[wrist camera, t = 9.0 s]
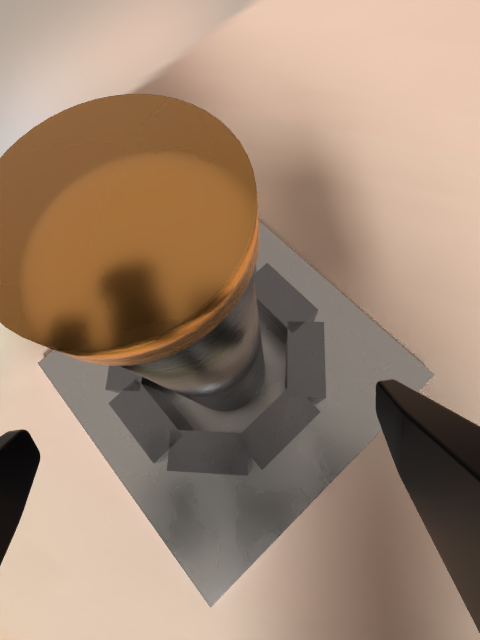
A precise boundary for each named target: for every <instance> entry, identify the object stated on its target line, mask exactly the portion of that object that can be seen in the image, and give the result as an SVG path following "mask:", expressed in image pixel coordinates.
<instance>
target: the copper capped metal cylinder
mask: <svg viewBox="0 0 480 640" xmlns="http://www.w3.org/2000/svg"><path fill="white" fill-rule="evenodd" d="M259 240H260V239H259V219H258V205H257V191H256V183H255V178H254V173H253V169H252V166H251V164H250V161H249V158H248V156H247V154H246V152H245V150H244V149H243V147H242V145H241V143H240V142H239V140H238V139H237V138H236V137H235V135H234V134H233V133H232V132H231V131H230V129H228V128H227V127H226V126H225V125H224V124H223V123H222V122H221V121H220V120H218V119H217V118H215V117H214V116H213V115H211V114H210V113H208V112H207V111H205V110H203V109H201V108H199V107H197V106H195V105H193V104H190V103H187V102H184V101H181V100H178V99H174V98H170V97H165V96H159V95H150V94H126V95H116V96H109V97H104V98H100V99H95V100H92V101H88V102H85V103H82V104H79V105H76V106H74V107H71V108H69V109H67V110H64V111H62V112H60V113H58V114H56V115H54V116H52V117H50V118H48V119H47V120H45V121H44V122H42V123H40V124H39V125H37V126H36V127H34V128H33V129H31V130H30V131H29V132H27V134H25V135H24V136H22V137H21V138H20V139H19V140H18V141H17V142H16V143H14V144H13V145H12V146H11V147H10V148H9V149H8V150H7V151H6V152H5V153H4V154H3V156H2V157H1V158H0V323H2V324H3V325H4V326H5V327H6V328H8V329H10V330H11V331H13V332H15V333H16V334H18V335H20V336H21V337H23V338H26V339H28V340H31V341H33V342H36V343H38V344H41V345H43V346H46V347H48V348H51V349H53V350H55V351H58V352H60V353H63V354H65V355H68V356H70V357H73V358H75V359H78V360H81V361H85V362H89V363H93V364H99V365H109V366H121V367H123V368H125V369H127V370H129V371H131V372H133V373H135V374H138V375H140V376H142V377H144V378H146V379H148V380H150V381H152V382H154V383H157V384H159V385H161V386H163V387H165V388H167V389H169V390H171V391H173V392H175V393H178V394H180V395H182V396H184V397H186V398H188V399H190V400H192V401H194V402H197V403H199V404H201V405H203V406H205V407H207V408H210V409H213V410H217V411H230V410H235V409H238V408H240V407H242V406H244V405H246V404H247V403H249V402H250V401H251V400H252V399H253V398H254V397H255V396H256V395H257V393H258V392H259V390H260V388H261V386H262V384H263V381H264V376H265V363H264V355H263V347H262V339H261V331H260V323H259V315H258V307H257V300H256V292H255V284H254V276H253V272H254V269H255V265H256V261H257V257H258V250H259Z"/></svg>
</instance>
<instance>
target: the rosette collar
mask: <svg viewBox="0 0 480 640" xmlns="http://www.w3.org/2000/svg"><path fill="white" fill-rule="evenodd" d="M259 239H260V240H259V250H258V257H257V261H256V265H255V269H254V272H253V276H254V284H255V292H256V300H257V307H258V315H259V323H260V331H261V339H262V347H263V355H264V363H265V376H264V381H263V384H262V386H261V388H260V390H259V392H258V393H257V395H256V396H255V397H254V398H253V399H252V400H251V401H250V402H249V403H247V404H246V405H244V406H242V407H240V408H238V409H235V410H230V411H217V410H213V409H210V408H207V407H205V406H203V405H201V404H199V403H197V402H194V401H192V400H190V399H188V398H186V397H184V396H182V395H180V394H178V393H175V392H173V391H171V390H169V389H167V388H165V387H163V386H161V385H159V384H157V383H154V382H152V381H150V380H148V379H146V378H144V377H142V376H140V375H138V374H135V373H133V372H131V371H129V370H127V369H125V368H123V367H121V366H109V365H99V364H93V363H89V362H85V361H81V360H78V359H75V358H73V357H70V356H68V355H65V354H63V353H60V352H58V351H55V350H53V351H52V352H50V353H49V354H48V355H47V356H46V357H44V358H43V359H42V360H41V361H40V362H38V364H39V366H40V367H41V368H42V370H43V371H44V373H45V374H46V376H47V377H48V378H49V380H50V381H51V383H52V384H53V385H54V387H55V388H56V390H57V391H58V393H59V394H60V395H61V397H62V398H63V400H64V401H65V402H66V404H67V405H68V407H69V408H70V410H71V411H72V412H73V414H74V415H75V417H76V418H77V419H78V421H79V422H80V424H81V425H82V427H83V428H84V429H85V431H86V432H87V434H88V435H89V436H90V438H91V439H92V441H93V442H94V443H95V445H96V446H97V448H98V449H99V451H100V452H101V453H102V455H103V456H104V458H105V459H106V460H107V462H108V463H109V465H110V466H111V468H112V469H113V470H114V472H115V473H116V475H117V476H118V477H119V479H120V480H121V482H122V483H123V485H124V486H125V487H126V489H127V490H128V492H129V493H130V494H131V496H132V497H133V499H134V500H135V502H136V503H137V504H138V506H139V507H140V509H141V510H142V511H143V513H144V514H145V516H146V517H147V518H148V520H149V521H150V523H151V524H152V526H153V527H154V528H155V530H156V531H157V533H158V534H159V535H160V537H161V538H162V540H163V541H164V543H165V544H166V545H167V547H168V548H169V550H170V551H171V552H172V554H173V555H174V557H175V558H176V560H177V561H178V562H179V564H180V565H181V567H182V568H183V569H184V571H185V572H186V574H187V575H188V577H189V578H190V579H191V581H192V582H193V584H194V585H195V586H196V588H197V589H198V591H199V592H200V594H201V595H202V596H203V598H204V599H205V601H206V602H207V603H208V605H209V606H210V608H211V607H212V605H213V604H214V603H215V602H216V601H217V600H218V599H219V598H220V597H221V596H222V595H223V594H224V593H225V592H226V591H227V590H228V589H229V588H230V587H231V586H232V585H233V584H234V583H235V582H236V581H237V579H238V578H239V577H240V576H241V575H242V574H243V573H244V572H245V571H246V570H247V569H248V568H249V567H250V566H251V565H252V564H253V563H254V562H255V561H256V560H257V559H258V558H259V557H260V556H261V554H262V553H263V552H264V551H265V550H266V549H267V548H268V547H269V546H270V545H271V544H272V543H273V542H274V541H275V540H276V539H277V538H278V537H279V536H280V535H281V534H282V533H283V532H284V531H285V530H286V528H287V527H288V526H289V525H290V524H291V523H292V522H293V521H294V520H295V519H296V518H297V517H298V516H299V515H300V514H301V513H302V512H303V511H304V510H305V509H306V508H307V507H308V506H309V505H310V503H311V502H312V501H313V500H314V499H315V498H316V497H317V496H318V495H319V494H320V493H321V492H322V491H323V490H324V489H325V488H326V487H327V486H328V485H329V484H330V483H331V482H332V481H333V480H334V479H335V477H336V476H337V475H338V474H339V473H340V472H341V471H342V470H343V469H344V468H345V467H346V466H347V465H348V464H349V463H350V462H351V461H352V460H353V459H354V458H355V457H356V456H357V455H358V454H359V452H360V451H361V450H362V449H363V448H364V447H365V446H366V445H367V444H368V443H369V442H370V441H371V440H372V439H373V438H374V437H375V436H376V435H377V434H378V433H379V432H380V431H381V430H382V428H381V425H380V423H379V420H378V417H377V414H376V383H377V382H378V381H381V380H389V379H395V380H397V381H399V382H400V383H402V384H404V385H406V386H408V387H409V388H411V389H413V390H415V391H417V392H418V391H419V390H420V389H421V388H422V387H423V386H424V385H425V384H426V383H427V382H428V381H429V380H430V379H431V378H432V377H433V375H434V374H433V373H432V372H431V371H430V370H429V369H428V368H427V367H425V366H424V365H423V364H422V363H421V362H420V361H419V360H417V359H416V358H415V357H414V356H413V355H412V354H411V353H409V352H408V351H407V350H406V349H405V348H404V347H403V346H401V345H400V344H399V343H398V342H397V341H396V340H395V339H393V338H392V337H391V336H390V335H389V334H388V333H387V332H385V331H384V330H383V329H382V328H381V327H380V326H379V325H378V324H376V323H375V322H374V321H373V320H372V319H371V318H370V317H368V316H367V315H366V314H365V313H364V312H363V311H362V310H360V309H359V308H358V307H357V306H356V305H355V304H354V303H352V302H351V301H350V300H349V299H348V298H347V297H346V296H344V295H343V294H342V293H341V292H340V291H339V290H338V289H336V288H335V287H334V286H333V285H332V284H331V283H330V282H329V281H327V280H326V279H325V278H324V277H323V276H322V275H321V274H319V273H318V272H317V271H316V270H315V269H314V268H313V267H311V266H310V265H309V264H308V263H307V262H306V261H305V260H303V259H302V258H301V257H300V256H299V255H298V254H297V253H295V252H294V251H293V250H292V249H291V248H290V247H289V246H287V245H286V244H285V243H284V242H283V241H282V240H281V239H280V238H278V237H277V236H276V235H275V234H274V233H273V232H272V231H270V230H269V229H268V228H267V227H266V226H265V225H264V224H262V223H261V222H260V221H259Z"/></svg>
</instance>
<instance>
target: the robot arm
mask: <svg viewBox="0 0 480 640" xmlns="http://www.w3.org/2000/svg"><path fill="white" fill-rule="evenodd" d="M376 414H377V417H378V420H379V423H380V425H381V428H382V431H383V433H384V436H385V439H386V441H387V444H388V447H389V449H390V452H391V455H392V457H393V460H394V463H395V465H396V468H397V470H398V473H399V475H400V477H401V479H402V481H403V483H404V485H405V487H406V489H407V491H408V493H409V495H410V497H411V499H412V501H413V503H414V505H415V507H416V509H417V511H418V513H419V515H420V517H421V519H422V521H423V523H424V525H425V527H426V529H427V531H428V533H429V534H430V536H431V538H432V540H433V542H434V544H435V546H436V548H437V550H438V552H439V554H440V556H441V558H442V560H443V562H444V564H445V566H446V568H447V570H448V572H449V574H450V576H451V578H452V580H453V582H454V584H455V585H456V587H457V589H458V591H459V593H460V595H461V597H462V599H463V601H464V603H465V605H466V607H467V609H468V611H469V613H470V615H471V617H472V619H473V621H474V623H475V625H476V627H477V629H478V631H479V633H480V426H478V425H476V424H474V423H473V422H471V421H469V420H467V419H465V418H464V417H462V416H460V415H458V414H456V413H455V412H453V411H451V410H449V409H447V408H445V407H444V406H442V405H440V404H438V403H436V402H435V401H433V400H431V399H429V398H427V397H426V396H424V395H422V394H420V393H418V392H417V391H415V390H413V389H411V388H409V387H408V386H406V385H404V384H402V383H400V382H399V381H397V380H395V379H389V380H381V381H378V382H377V383H376ZM39 462H40V452H39V450H38V448H37V446H36V445H35V443H34V441H33V439H32V437H31V435H30V434H29V432H28V431H26V430H15V431H9V432H7V433H5V434H4V435H2V436H1V437H0V565H1V563H2V561H3V558H4V556H5V554H6V552H7V549H8V547H9V545H10V542H11V540H12V538H13V535H14V533H15V531H16V529H17V526H18V524H19V521H20V519H21V516H22V513H23V510H24V507H25V504H26V501H27V498H28V495H29V492H30V489H31V486H32V483H33V480H34V477H35V474H36V471H37V468H38V465H39Z"/></svg>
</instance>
